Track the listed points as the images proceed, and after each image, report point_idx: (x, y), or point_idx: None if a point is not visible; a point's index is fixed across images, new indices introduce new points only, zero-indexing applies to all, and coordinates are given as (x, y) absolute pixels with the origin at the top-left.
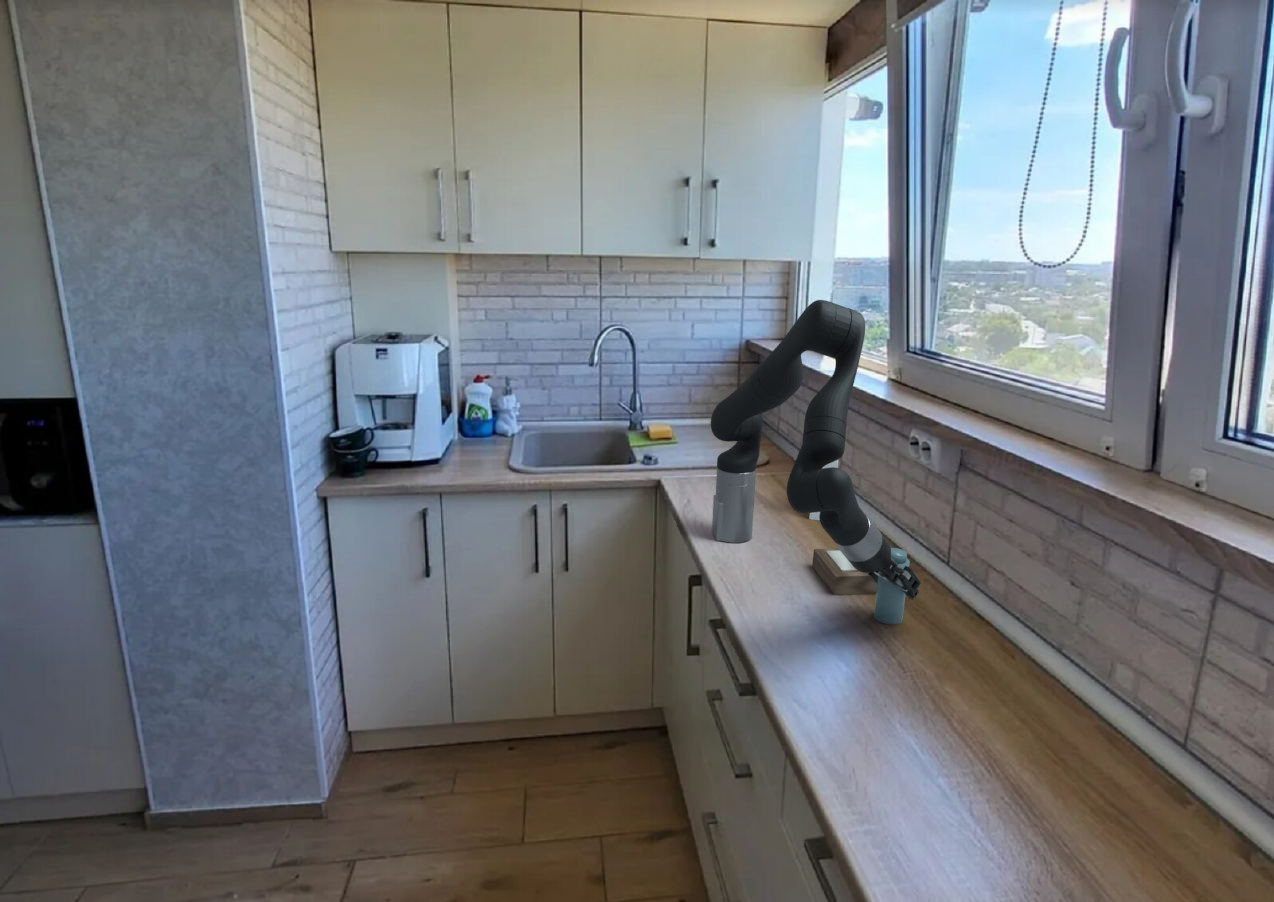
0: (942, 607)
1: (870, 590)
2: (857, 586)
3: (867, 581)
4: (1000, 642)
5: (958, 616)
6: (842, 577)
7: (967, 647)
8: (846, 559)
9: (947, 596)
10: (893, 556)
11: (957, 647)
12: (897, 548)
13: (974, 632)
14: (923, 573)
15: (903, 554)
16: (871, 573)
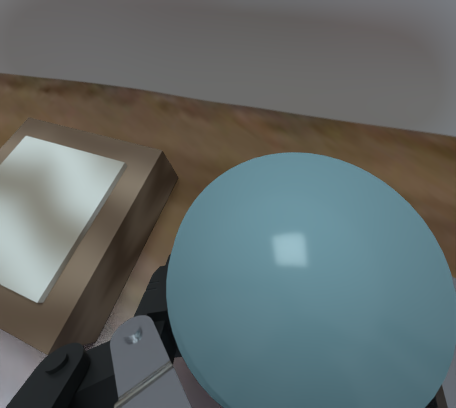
0: (262, 146)
1: (141, 239)
2: (116, 273)
3: (122, 243)
4: (422, 143)
5: (304, 143)
6: (66, 327)
7: (440, 216)
8: (6, 230)
9: (229, 112)
10: (415, 401)
11: (438, 237)
12: (221, 177)
13: (374, 159)
14: (143, 95)
15: (390, 226)
16: (177, 347)
